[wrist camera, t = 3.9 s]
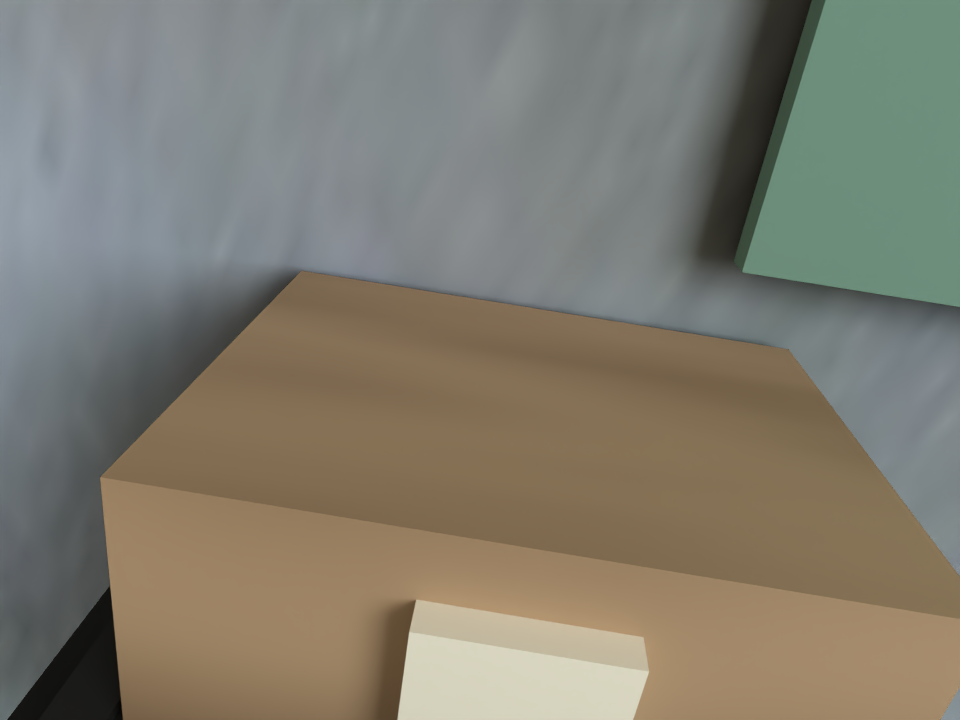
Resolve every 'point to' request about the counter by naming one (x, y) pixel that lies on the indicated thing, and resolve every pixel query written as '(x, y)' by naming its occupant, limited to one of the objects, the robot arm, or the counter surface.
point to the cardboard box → (513, 529)
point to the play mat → (865, 155)
